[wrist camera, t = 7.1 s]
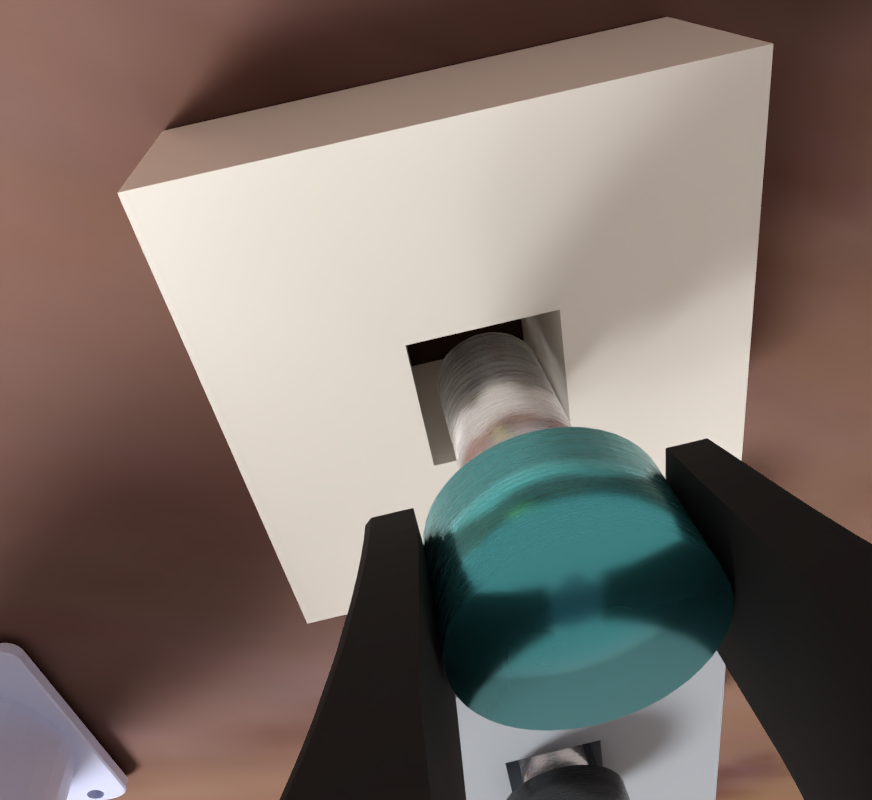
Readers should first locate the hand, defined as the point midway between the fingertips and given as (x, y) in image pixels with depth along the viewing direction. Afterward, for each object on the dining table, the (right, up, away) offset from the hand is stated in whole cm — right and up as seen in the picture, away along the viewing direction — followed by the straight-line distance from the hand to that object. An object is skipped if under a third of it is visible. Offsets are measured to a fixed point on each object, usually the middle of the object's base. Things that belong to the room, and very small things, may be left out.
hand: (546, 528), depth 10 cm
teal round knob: (-1, +2, +3) cm, 4 cm away
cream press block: (-1, +4, +6) cm, 8 cm away
